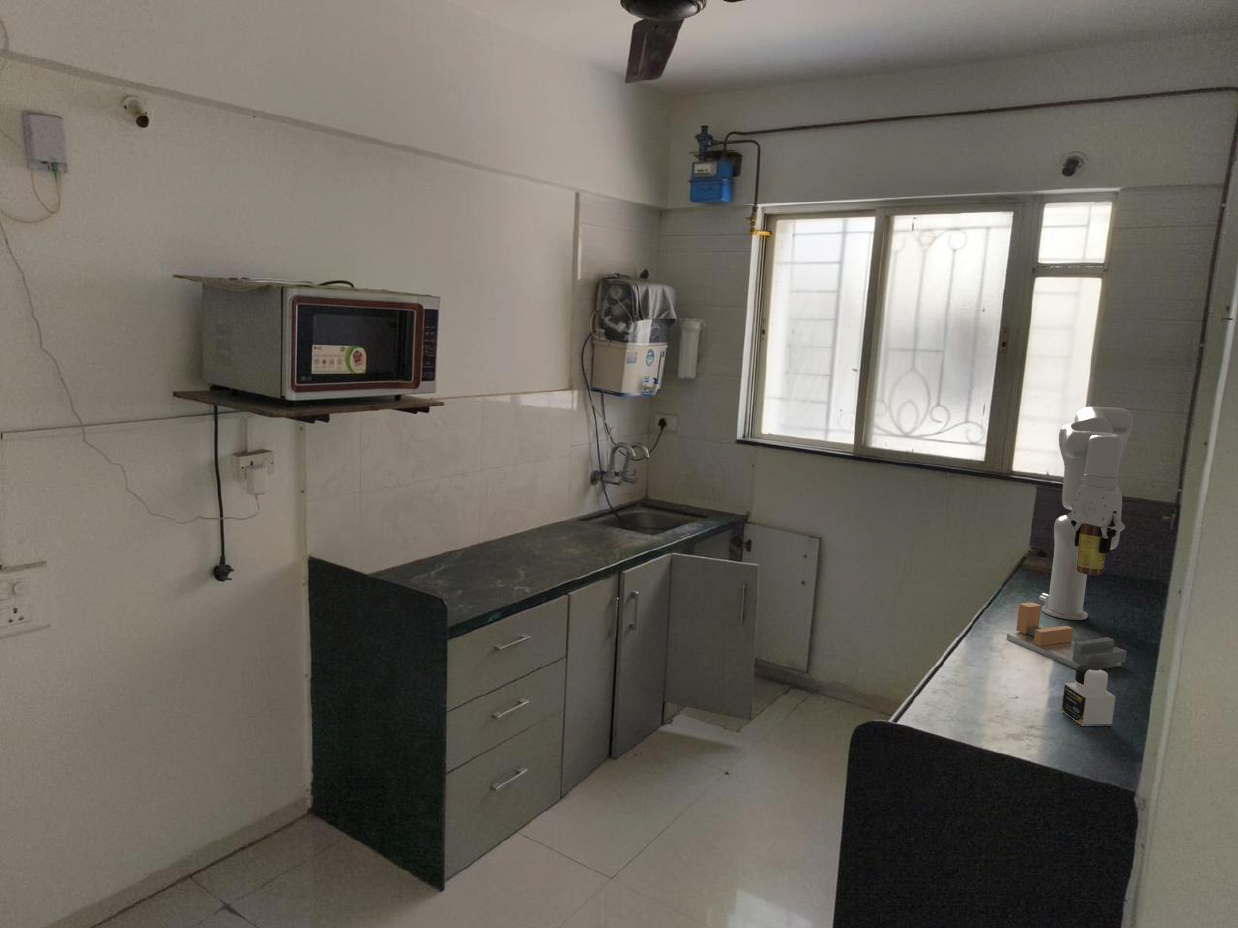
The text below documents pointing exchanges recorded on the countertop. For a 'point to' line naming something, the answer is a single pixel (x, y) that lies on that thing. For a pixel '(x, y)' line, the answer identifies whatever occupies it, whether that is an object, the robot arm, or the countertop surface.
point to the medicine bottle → (1089, 696)
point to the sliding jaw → (1030, 625)
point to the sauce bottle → (1090, 551)
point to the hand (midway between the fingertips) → (1091, 548)
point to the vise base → (1051, 649)
